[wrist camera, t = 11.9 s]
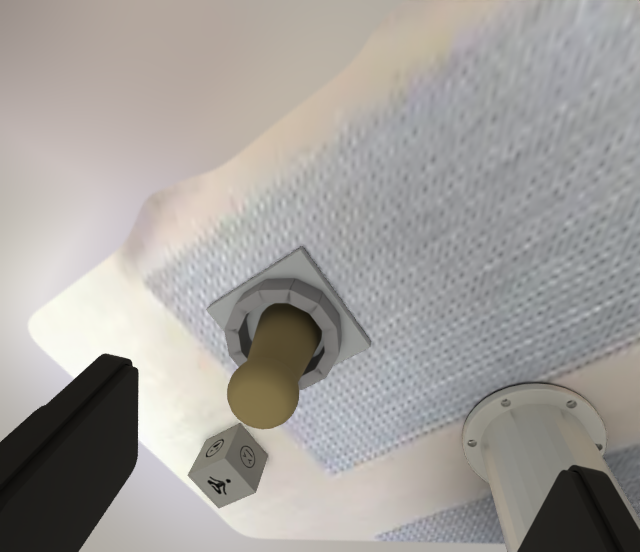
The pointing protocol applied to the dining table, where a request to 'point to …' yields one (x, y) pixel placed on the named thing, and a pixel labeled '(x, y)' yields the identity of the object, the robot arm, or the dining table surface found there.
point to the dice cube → (229, 466)
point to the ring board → (309, 275)
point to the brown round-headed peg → (274, 367)
